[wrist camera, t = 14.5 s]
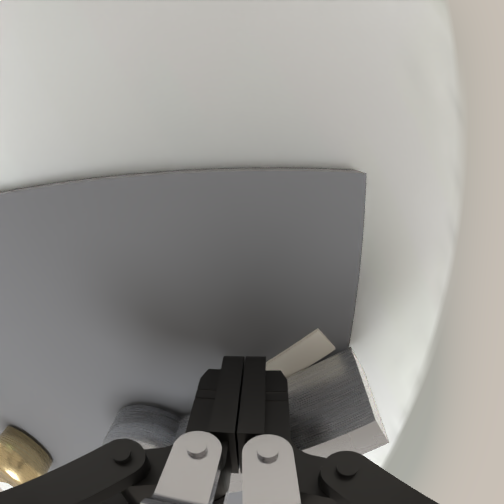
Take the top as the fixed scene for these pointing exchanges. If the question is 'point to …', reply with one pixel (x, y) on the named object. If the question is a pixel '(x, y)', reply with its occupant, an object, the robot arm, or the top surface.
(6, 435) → the brass door handle
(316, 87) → the top surface
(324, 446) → the chrome lever handle
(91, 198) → the board
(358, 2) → the top surface
